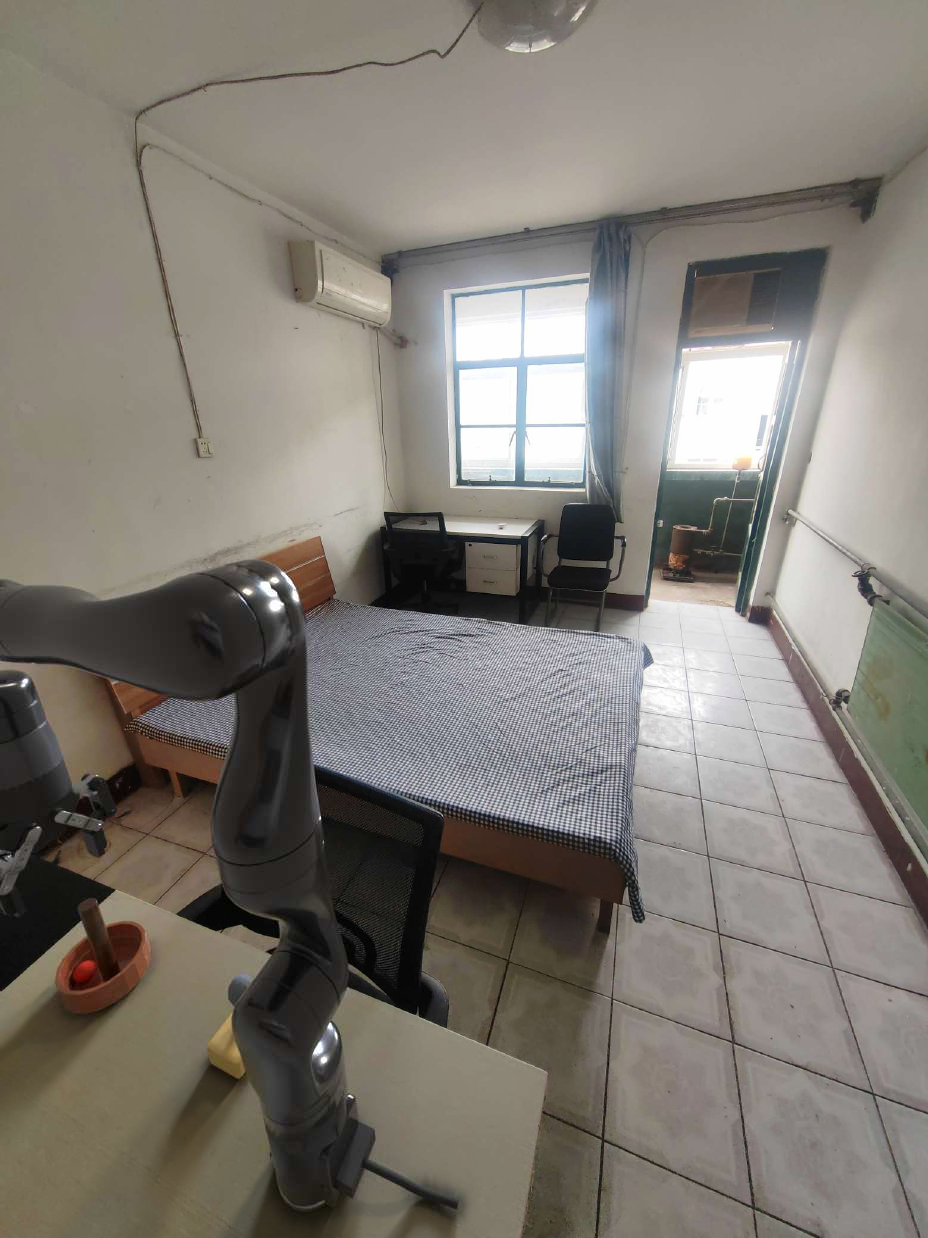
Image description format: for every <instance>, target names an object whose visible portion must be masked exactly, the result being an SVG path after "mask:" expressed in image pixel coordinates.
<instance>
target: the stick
mask: <svg viewBox="0 0 928 1238" xmlns="http://www.w3.org/2000/svg"><path fill="white" fill-rule="evenodd" d="M77 913H78V915H79V918H80V920H81V923H82V926H83V929H84V931H85V935H86V936H87V937H88V940H89V943H90V946H91V948H92V951H93V954H94V957H95V959H96V962H97V965H98V968H99V971H100V973H101V976H102V979H103V981H104V982H107V981H109V980H110V979H111V978H113V977H114V976H116V975H117V974H118V973H120V967H119V964H118V961H117V958H116V955H115V952H114V950H113V947H112V944H111V941H110V938H109V935H108V932H107V929H106V923H105V921H104V917H103V915H102V912H101V909H100V905H99V903H98V900H97V898H96V897H90V898H87V899H85V900H83V901H82V902H80V903H79V905H78V906H77Z"/></svg>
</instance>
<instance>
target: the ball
mask: <svg viewBox="0 0 928 1238" xmlns="http://www.w3.org/2000/svg"><path fill="white" fill-rule="evenodd" d="M96 968H97V967H96V963H95V962H93V961H90V960H88V961H84V962H82V963H81V964H79V965H78V966H77V968H76V969H75V971H74V974H73V978H74V980H75V981H76V982H77V983H84V982H87V981H88V980H90V979H91V978H92V977H93V976H94V974H95V972H96Z"/></svg>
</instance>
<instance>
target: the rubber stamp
mask: <svg viewBox="0 0 928 1238" xmlns="http://www.w3.org/2000/svg"><path fill="white" fill-rule="evenodd" d="M253 980H254V978H252V977H251V975H249V974H248V973H247V974H246V973H241V974H238V975H236V976H235V977H234V978H233V979H232V980H231V981H230V983H229V985H228V987H227V998H228V1002H229V1003H230V1004H231V1005H232V1006H233V1008H234V1007H235V1005H236V1003H237V1002H238V1000H239V999H240V997H241V996H242V995H243V993H244V992H245V990H246V989H247V988H248V986H249V985H250V984H251V982H252V981H253ZM232 1013H233V1010H232V1011H231V1013H230V1014H229V1015H228V1016H227V1018H226V1020H225V1021H224V1022H223V1024H222V1025H221V1026H220V1027H219V1029H218V1030H217V1032H216V1033H215V1034H214V1035H213V1036H212V1038H211V1040H210V1041H209V1042H208V1044H207V1045H206V1050H207V1054H208V1058H209V1061H210V1064H211V1065H212V1066H214V1067H217V1068H218V1069H220V1070H221V1071H223V1072H225V1073H226V1074H228V1075H230V1076H232V1077H233V1078H236V1079H238V1080H240V1078H242V1077H243V1075H244V1074H246V1071H245V1068H244V1065H243V1061H242V1058H241V1056H240V1053H239V1050H238V1047H237V1045H236V1042H235V1039H234V1035H233V1032H232V1026H231V1019H232Z"/></svg>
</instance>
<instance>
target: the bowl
mask: <svg viewBox="0 0 928 1238" xmlns="http://www.w3.org/2000/svg"><path fill="white" fill-rule="evenodd" d="M105 926H106V929H107V932H108V935H109V938H110V941H111V944H112V947H113V950H114V952H115V955H116V958H117V961H118V964H119V967H120V973H118V974H117V975H116V976H114V977H113V978H111V979H110V980H109V981H107V982H104V981H103V979H102V976H101V973H100V971H99V968H98V965H97V962H96V959H95V957H94V954H93V951H92V948H91V946H90V943H89V940H88V937H87V935H86V936H84V937H83V938H82V939H80V941H78V943H76V944H75V945H74V946H73V947H72V948H70V950H69V951H68V952H67V953H66V955H65V956H63V958H62V959H61V962H60V963H59V965H58V967H57V969H56V972H55V979H54V984H55V986H56V988H57V992H58V993H59V996H60V998H61V1000H62V1003H63V1005H64V1008H65V1009H66V1010H67V1011H69V1012H71V1013H72V1014H82V1015H83V1014H91V1013H94V1012H98V1011H102V1010H103V1009H106V1008H108V1007H109V1006H111V1005H113V1004H115V1003H117V1002H118V1001H119V1000H120V999H122V998H123V997H125V996H126V995H127V994H128V993H130V992H131V991H132V989H134V987H136V986H137V984H139V982H140V981H141V980H142V978H143V977H144V975H145V974H146V973H147V971H148V969H149V966H150V963H151V959H152V948H151V945H150V942H149V938H148V935H147V931H146V930H145V928H144V926H143V925H142V924H141V923H138V922H136V921H133V920H121V921H117V922H111V923H109V924H105ZM88 960H90V961H93V962H95V963H96V967H97V968H96V972H95V974H94V976H93V977H92V978H91V979H90V980H88V981H87V982H84V983H77V982H76V981H75V980H74V978H73V974H74V971H75V969H76V968H77V966H78V965H79V964H81V963H82V962H84V961H88Z"/></svg>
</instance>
